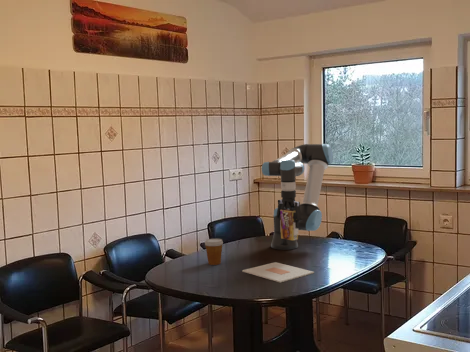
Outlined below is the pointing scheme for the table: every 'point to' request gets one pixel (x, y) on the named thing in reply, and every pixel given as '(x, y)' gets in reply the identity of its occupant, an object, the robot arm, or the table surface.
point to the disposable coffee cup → (214, 251)
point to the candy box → (287, 225)
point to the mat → (278, 272)
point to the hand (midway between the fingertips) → (289, 233)
